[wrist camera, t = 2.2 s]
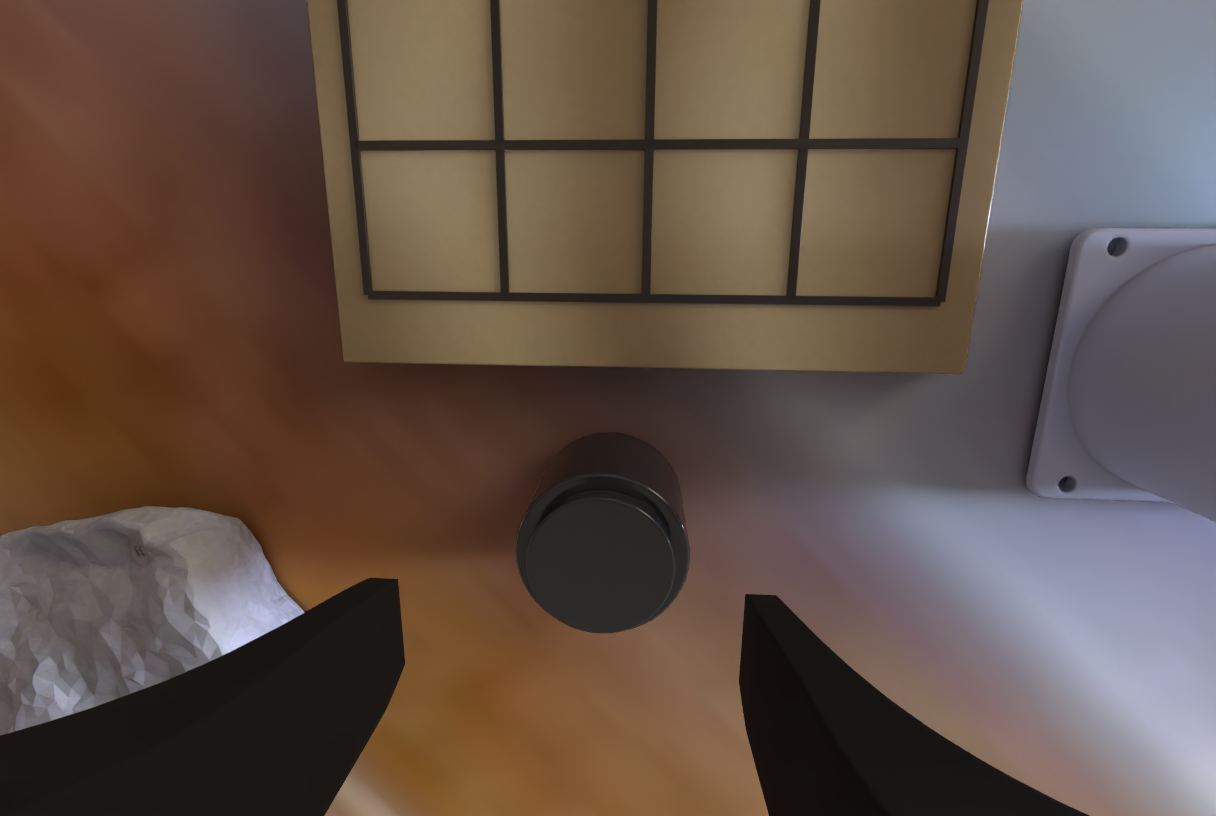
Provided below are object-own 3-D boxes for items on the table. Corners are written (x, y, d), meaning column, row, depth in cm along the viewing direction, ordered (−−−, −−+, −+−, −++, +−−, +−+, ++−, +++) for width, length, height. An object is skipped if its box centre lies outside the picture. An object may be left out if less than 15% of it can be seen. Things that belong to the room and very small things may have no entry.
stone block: (14, 552, 24) (107, 782, 24) (-153, 595, 19) (-36, 883, 19) (264, 443, 22) (364, 686, 22) (153, 459, 17) (279, 770, 17)
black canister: (683, 428, 19) (696, 485, 14) (678, 557, 20) (688, 652, 15) (541, 424, 19) (506, 479, 14) (544, 552, 20) (512, 643, 15)
